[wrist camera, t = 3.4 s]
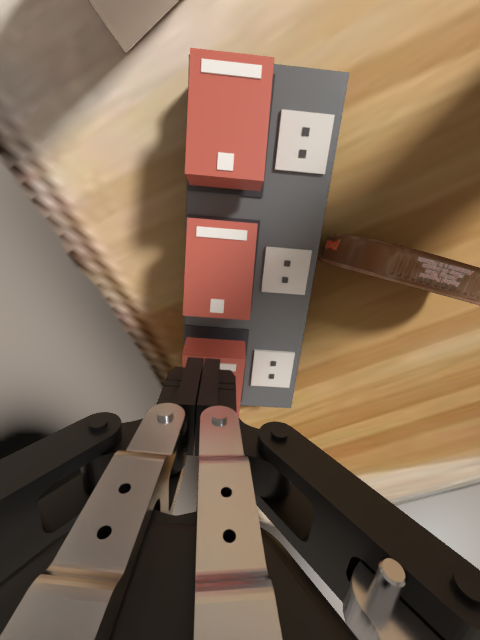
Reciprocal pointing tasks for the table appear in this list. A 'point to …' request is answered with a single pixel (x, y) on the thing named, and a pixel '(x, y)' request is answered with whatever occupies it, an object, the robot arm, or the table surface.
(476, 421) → the table surface
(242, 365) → the rocker
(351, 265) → the tin
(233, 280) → the block
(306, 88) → the power strip
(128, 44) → the milk carton
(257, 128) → the block
